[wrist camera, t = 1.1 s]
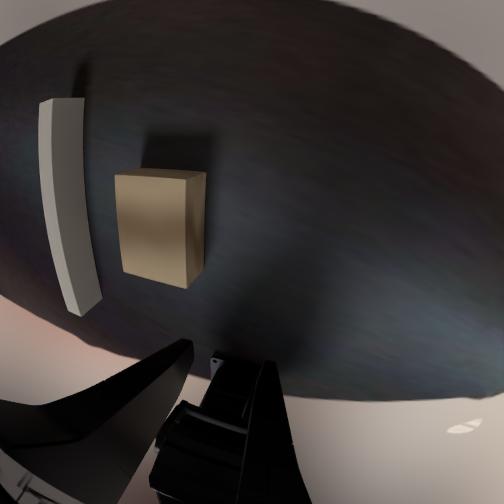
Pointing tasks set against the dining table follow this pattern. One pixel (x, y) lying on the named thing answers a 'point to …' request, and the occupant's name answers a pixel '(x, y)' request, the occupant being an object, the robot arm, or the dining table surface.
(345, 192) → the dining table surface
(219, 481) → the robot arm
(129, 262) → the maple block
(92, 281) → the fence bar
